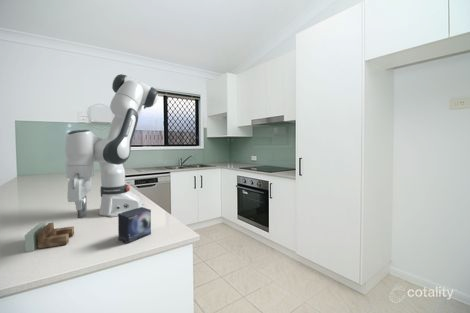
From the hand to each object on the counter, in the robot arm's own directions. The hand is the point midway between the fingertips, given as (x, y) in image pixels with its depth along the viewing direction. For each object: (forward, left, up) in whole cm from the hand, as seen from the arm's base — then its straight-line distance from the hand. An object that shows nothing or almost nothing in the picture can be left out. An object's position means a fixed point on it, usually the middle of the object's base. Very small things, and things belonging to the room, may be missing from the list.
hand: (80, 207), depth 85 cm
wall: (+14, 0, -12) cm, 18 cm away
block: (+8, 0, -12) cm, 14 cm away
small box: (-19, +7, -12) cm, 24 cm away
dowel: (0, 0, -4) cm, 4 cm away
